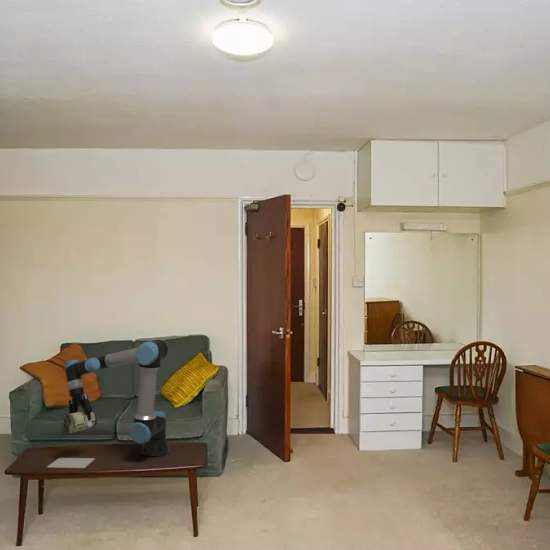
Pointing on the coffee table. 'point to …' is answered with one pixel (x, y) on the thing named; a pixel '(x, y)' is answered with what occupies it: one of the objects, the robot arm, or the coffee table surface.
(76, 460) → the mat
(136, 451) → the coffee table surface
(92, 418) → the coffee can
